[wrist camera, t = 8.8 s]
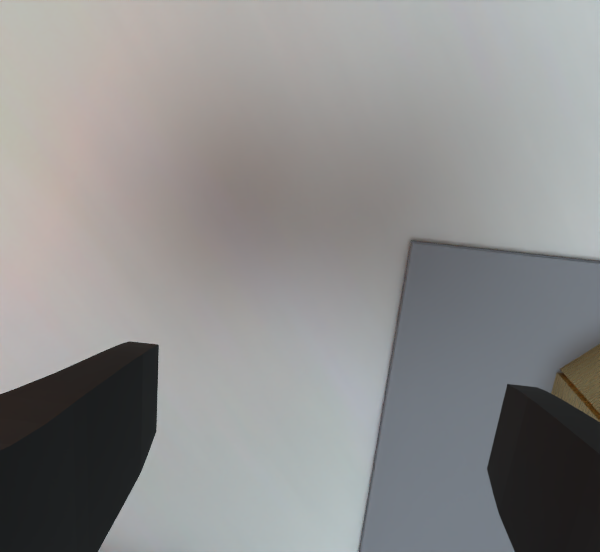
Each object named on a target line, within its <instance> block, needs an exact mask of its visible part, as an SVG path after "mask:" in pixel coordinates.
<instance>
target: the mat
mask: <svg viewBox="0 0 600 552" xmlns="http://www.w3.org/2000/svg"><path fill="white" fill-rule="evenodd" d="M599 344H600V262H599V261H590V260H581V259H572V258H563V257H554V256H545V255H536V254H527V253H517V252H508V251H499V250H490V249H481V248H472V247H463V246H454V245H444V244H435V243H426V242H417V241H411V244H410V250H409V256H408V262H407V268H406V274H405V280H404V286H403V291H402V297H401V303H400V309H399V315H398V321H397V327H396V333H395V339H394V345H393V351H392V357H391V363H390V369H389V375H388V381H387V387H386V393H385V399H384V405H383V411H382V417H381V423H380V429H379V435H378V441H377V447H376V453H375V459H374V465H373V471H372V477H371V483H370V489H369V495H368V501H367V507H366V513H365V519H364V525H363V531H362V537H361V543H360V549H359V552H515V551H514V549H513V546H512V544H511V542H510V539H509V537H508V535H507V532H506V530H505V527H504V525H503V523H502V520H501V518H500V515H499V512H498V509H497V506H496V502H495V499H494V495H493V491H492V487H491V483H490V479H489V475H488V471H487V466H488V462H489V458H490V454H491V450H492V446H493V442H494V437H495V433H496V429H497V425H498V421H499V417H500V412H501V408H502V404H503V400H504V396H505V392H506V387H507V384H512V385H521V386H530V387H538V388H540V389H543V390H545V391H547V392H549V393H551V392H552V388H553V385H554V381H555V377H556V374H557V373H562V371H561V370H560V368H562V367H564V366H565V365H567V364H568V363H570V362H572V361H573V360H575V359H576V358H578V357H580V356H581V355H583V354H584V353H586V352H588V351H589V350H591V349H592V348H594V347H596V346H597V345H599Z"/></svg>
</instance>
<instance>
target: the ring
mask: <svg viewBox="0 0 600 552" xmlns="http://www.w3.org/2000/svg"><path fill="white" fill-rule="evenodd" d="M560 370H561V371H562V373H557V374H556V377H555V381H554V385H553V388H552V392H551V394H553V395H555V396H557V397H558V398H560V399H562V400H564V401H565V402H567V403H569V404H571V405H572V406H574V407H576V408H577V409H579V410H581V411H582V412H584V413H586V414H587V415H589V416H590V417H592V418H594V419H595V420H597V421H599V422H600V344H599V345H597V346H596V347H594V348H592V349H591V350H589V351H588V352H586V353H584V354H583V355H581V356H580V357H578V358H576V359H575V360H573V361H572V362H570V363H568V364H567V365H565V366H564V367H562V368H560Z"/></svg>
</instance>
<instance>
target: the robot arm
mask: <svg viewBox="0 0 600 552" xmlns="http://www.w3.org/2000/svg"><path fill="white" fill-rule="evenodd" d="M158 349H159V345H156V344H147V343H138V342H126V343H123V344H120V345H117V346H115V347H112V348H110V349H108V350H106V351H103V352H101V353H99V354H97V355H94V356H92V357H90V358H88V359H85V360H83V361H81V362H79V363H77V364H74V365H72V366H70V367H68V368H65V369H63V370H61V371H59V372H56V373H54V374H51V375H49V376H46V377H44V378H41V379H39V380H36V381H34V382H31V383H29V384H26V385H24V386H21V387H19V388H16V389H14V390H11V391H9V392H6V393H3V394H0V552H98V550H99V548H100V547H101V545H102V543H103V541H104V539H105V537H106V536H107V534H108V532H109V530H110V528H111V527H112V525H113V523H114V521H115V519H116V517H117V516H118V514H119V512H120V510H121V508H122V507H123V505H124V503H125V501H126V499H127V497H128V495H129V494H130V492H131V490H132V488H133V486H134V484H135V482H136V481H137V479H138V477H139V475H140V473H141V471H142V468H143V465H144V463H145V460H146V458H147V455H148V453H149V450H150V447H151V444H152V442H153V439H154V436H155V433H156V422H157V386H158ZM487 471H488V475H489V479H490V483H491V487H492V491H493V495H494V499H495V502H496V506H497V509H498V512H499V515H500V518H501V520H502V523H503V525H504V527H505V530H506V532H507V535H508V537H509V539H510V542H511V544H512V546H513V549H514V551H515V552H600V422H599V421H597V420H595V419H594V418H592V417H590V416H589V415H587V414H586V413H584V412H582V411H581V410H579V409H577V408H576V407H574V406H572V405H571V404H569V403H567V402H565V401H564V400H562V399H560V398H558V397H557V396H555V395H553V394H551V393H549V392H547V391H545V390H543V389H540V388H538V387H530V386H521V385H512V384H507V387H506V392H505V396H504V400H503V404H502V408H501V412H500V417H499V421H498V425H497V429H496V433H495V437H494V442H493V446H492V450H491V454H490V458H489V462H488V466H487Z"/></svg>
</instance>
